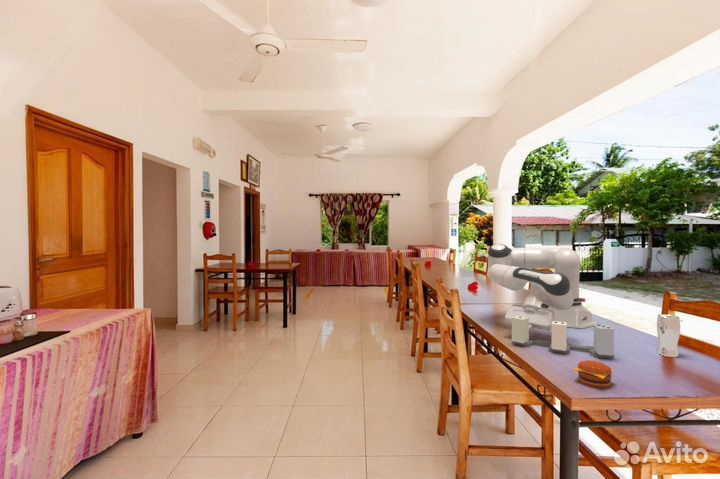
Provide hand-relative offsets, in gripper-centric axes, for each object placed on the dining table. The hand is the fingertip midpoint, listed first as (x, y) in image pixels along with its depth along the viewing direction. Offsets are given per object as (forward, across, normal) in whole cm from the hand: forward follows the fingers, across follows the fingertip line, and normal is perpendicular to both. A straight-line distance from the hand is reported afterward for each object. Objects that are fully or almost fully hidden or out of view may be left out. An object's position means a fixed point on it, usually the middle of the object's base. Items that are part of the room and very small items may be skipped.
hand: (523, 333), depth 157 cm
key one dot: (+4, 0, 0) cm, 4 cm away
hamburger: (+19, +34, -12) cm, 40 cm away
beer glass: (-16, +44, +23) cm, 52 cm away
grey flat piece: (0, +13, +6) cm, 15 cm away
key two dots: (+2, +15, +1) cm, 15 cm away
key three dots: (-2, +28, +6) cm, 29 cm away
